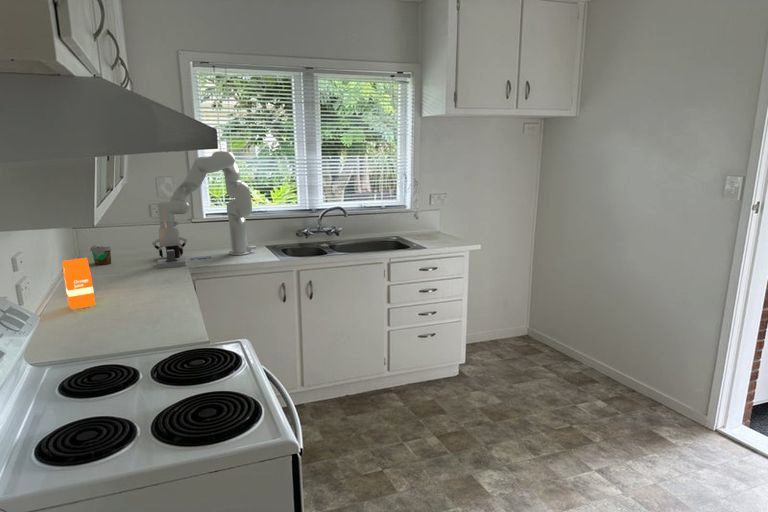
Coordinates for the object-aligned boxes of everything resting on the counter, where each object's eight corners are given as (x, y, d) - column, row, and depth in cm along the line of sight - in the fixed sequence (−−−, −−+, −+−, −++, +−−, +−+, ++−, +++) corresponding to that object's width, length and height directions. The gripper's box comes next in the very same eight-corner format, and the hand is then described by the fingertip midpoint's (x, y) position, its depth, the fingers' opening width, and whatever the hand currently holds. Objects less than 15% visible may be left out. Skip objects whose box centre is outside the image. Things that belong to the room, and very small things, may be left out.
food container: (87, 264, 278) (84, 247, 276) (97, 262, 283) (94, 244, 281) (103, 266, 273) (100, 248, 271) (113, 264, 279) (110, 246, 277)
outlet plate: (185, 261, 282) (185, 257, 281) (185, 265, 273) (185, 261, 272) (158, 264, 277) (157, 259, 277) (157, 268, 268) (156, 264, 268)
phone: (210, 257, 295) (210, 255, 295) (211, 259, 290) (211, 257, 290) (190, 259, 291) (190, 257, 291) (190, 261, 286) (190, 259, 286)
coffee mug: (178, 259, 288) (176, 242, 286) (163, 259, 288) (161, 242, 286) (186, 254, 299) (184, 237, 297) (171, 254, 299) (170, 238, 297)
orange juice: (68, 306, 209) (60, 259, 205) (92, 302, 214) (85, 255, 210) (71, 311, 203) (63, 262, 198) (96, 306, 208) (88, 259, 204)
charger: (175, 263, 278) (174, 249, 276) (175, 265, 274) (174, 250, 272) (167, 264, 276) (166, 249, 274) (167, 266, 273) (166, 251, 271)
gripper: (185, 222, 276) (188, 253, 281) (150, 225, 271) (154, 256, 275) (184, 224, 270) (188, 256, 274) (149, 227, 264) (153, 259, 268)
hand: (171, 256), depth 274 cm, fingers open, 9 cm apart
